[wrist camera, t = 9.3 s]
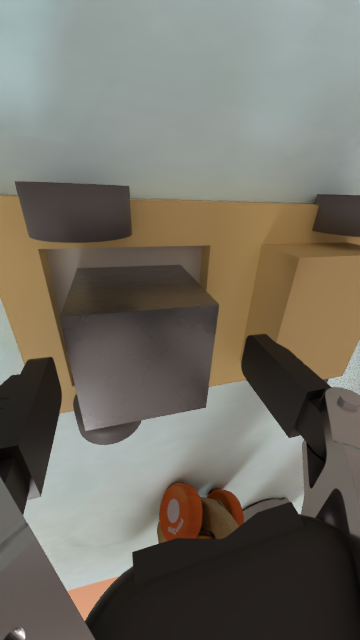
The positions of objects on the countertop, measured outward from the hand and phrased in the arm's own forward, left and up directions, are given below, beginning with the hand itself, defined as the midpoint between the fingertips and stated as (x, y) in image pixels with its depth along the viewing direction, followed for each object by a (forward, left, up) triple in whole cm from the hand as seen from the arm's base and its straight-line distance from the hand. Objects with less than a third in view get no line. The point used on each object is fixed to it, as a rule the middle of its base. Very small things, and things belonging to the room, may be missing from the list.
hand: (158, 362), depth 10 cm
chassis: (-4, 0, -5) cm, 7 cm away
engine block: (+1, 0, -5) cm, 5 cm away
